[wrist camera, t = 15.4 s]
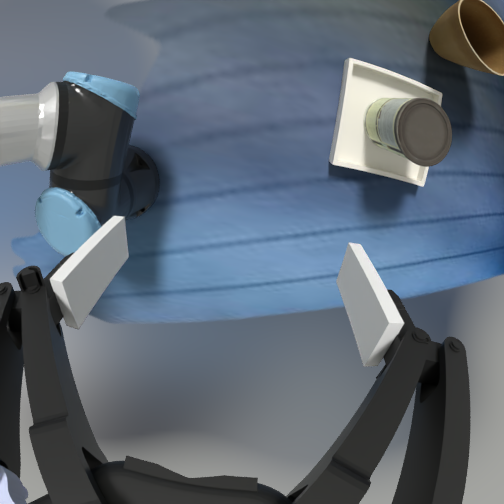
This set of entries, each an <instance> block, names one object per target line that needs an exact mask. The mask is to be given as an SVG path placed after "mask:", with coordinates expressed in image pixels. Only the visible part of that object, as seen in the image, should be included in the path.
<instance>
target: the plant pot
mask: <svg viewBox="0 0 504 504" xmlns="http://www.w3.org/2000/svg"><path fill="white" fill-rule="evenodd" d="M429 40H430V43H431V46H432V48H433V49H434V51H435V52H436V53H437V54H438V55H439V56H441V57H442V58H444V59H446V60H449V61H451V62H454V63H456V64H459V65H462V66H465V67H468V68H472V69H475V70H479V71H483V72H487V73H491V74H496V75H500V76H504V23H503V21H502V20H501V18H500V17H499V16H498V15H497V13H496V12H495V11H494V10H493V9H492V8H491V7H490V6H489V5H487V4H486V3H485V2H483V1H482V0H459V1H458V2H457V3H455V4H454V5H452V6H451V7H450V8H449V9H447V10H446V11H445V12H444V13H443V14H442V15H441V17H440V18H439V19H438V20H437V22H436V23H435V25H434V26H433V28H432V29H431V31H430V34H429Z"/></svg>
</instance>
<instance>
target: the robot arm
mask: <svg viewBox="0 0 504 504" xmlns="http://www.w3.org/2000/svg"><path fill="white" fill-rule="evenodd" d="M139 98H140V95H139V91H138V90H137V88H136V87H134V86H133V85H130V84H127V83H124V82H120V81H117V80H113V79H109V78H105V77H100V76H95V75H89V74H85V73H79V72H68V73H67V74H66V75H65V77H64V78H63V82H51V83H49V84H48V85H47V86H46V87H45V88H44V89H43V90H42V91H41V92H39V93H38V94H29V95H17V96H6V97H0V166H5V165H10V164H16V163H21V162H27V161H32V162H33V163H35V165H36V166H38V167H39V168H40V169H41V170H42V171H46V170H50V186H49V188H48V189H46V190H44V191H43V192H42V194H41V196H40V197H39V198H38V200H37V202H36V207H35V217H36V222H37V225H38V227H39V230H40V232H41V234H42V236H43V237H44V239H45V240H46V241H47V242H48V244H49V245H50V246H51V247H52V248H53V249H54V250H56V251H57V252H58V253H60V254H62V255H64V256H66V257H64V258H63V259H62V260H61V261H60V263H59V264H58V265H57V266H56V267H55V268H54V269H53V270H52V271H51V272H50V273H49V274H48V275H47V276H46V277H45V278H44V279H43V277H42V274H41V271H40V268H39V267H37V266H29V267H26V268H24V269H22V270H21V271H20V272H19V273H18V274H17V277H16V278H17V281H18V283H19V286H20V288H21V291H14V290H13V287H12V285H11V283H9V282H4V283H1V284H0V504H27V503H26V501H25V499H26V498H27V497H28V492H27V489H26V488H25V487H24V486H23V485H22V482H21V481H20V466H21V464H20V463H21V462H20V434H19V433H20V428H19V427H20V424H19V423H20V398H21V385H22V375H23V367H24V368H25V376H26V384H27V391H28V397H29V403H30V408H31V413H32V417H33V423H34V425H33V426H31V427H30V428H29V434H30V439H31V443H32V447H33V450H34V454H35V457H36V460H37V463H38V466H39V469H40V472H41V475H42V478H43V481H44V483H45V485H46V488H47V491H48V494H47V495H45V496H43V497H41V498H39V499H37V500H35V501H33V502H31V503H28V504H359V502H360V501H361V499H362V498H363V497H364V495H365V494H366V492H367V490H368V489H369V487H370V484H371V482H370V480H369V479H370V477H371V475H372V473H373V471H374V470H375V468H376V467H377V465H378V463H379V462H380V460H381V458H382V456H383V455H384V453H385V451H386V449H387V447H388V446H389V444H390V442H391V440H392V438H393V436H394V434H395V432H396V430H397V428H398V426H399V424H400V422H401V420H402V418H403V416H404V414H405V411H406V409H407V407H408V405H409V403H410V400H411V398H412V395H413V393H414V391H415V388H416V396H415V404H414V411H413V418H412V425H411V430H410V436H409V440H408V446H407V450H406V455H405V459H404V463H403V467H402V471H401V475H400V478H399V482H398V485H397V489H396V492H395V495H394V498H393V502H392V504H462V500H463V495H464V489H465V483H466V476H467V468H468V459H469V458H468V457H469V444H470V390H469V377H468V367H467V357H466V350H465V347H464V345H463V344H462V342H461V341H459V340H458V339H456V338H454V337H447V338H446V339H445V340H444V342H443V343H442V344H440V343H437V342H433V341H431V339H430V337H429V335H428V334H427V333H426V332H425V331H423V330H422V329H419V328H416V327H415V326H414V324H413V322H412V320H411V318H410V317H409V315H408V313H407V311H406V310H405V307H404V305H402V302H401V300H400V298H399V296H398V295H396V294H395V293H394V292H393V291H392V290H387V289H386V287H385V286H384V284H383V282H382V280H381V278H380V277H379V275H378V273H377V271H376V270H375V268H374V266H373V265H372V263H371V261H370V259H369V258H368V256H367V254H366V253H365V251H364V249H363V248H362V246H361V245H360V244H355V243H348V246H347V250H346V253H345V256H344V259H343V263H342V266H341V269H340V272H339V275H338V278H337V281H336V282H337V285H338V288H339V291H340V293H341V296H342V299H343V302H344V305H345V308H346V311H347V314H348V317H349V320H350V323H351V326H352V329H353V333H354V336H355V339H356V342H357V345H358V349H359V352H360V356H361V359H362V362H363V365H364V366H378V365H379V363H380V362H381V360H382V359H383V357H384V360H385V363H386V365H385V366H384V368H383V369H382V370H381V372H380V373H379V375H378V376H377V377H376V379H377V380H376V381H375V383H374V385H373V386H372V388H371V389H370V391H369V393H368V394H367V396H366V398H365V399H364V401H363V402H362V404H361V405H360V407H359V408H358V410H357V412H356V413H355V415H354V416H353V417H352V419H351V420H350V422H349V423H348V425H347V426H346V427H345V429H344V430H343V432H342V433H341V434H340V436H339V437H338V438H337V440H336V441H335V442H334V444H333V445H332V446H331V447H330V449H329V450H328V451H327V453H326V454H325V455H324V456H323V458H322V459H321V460H320V461H319V462H318V464H317V465H316V466H315V467H314V468H313V469H312V471H311V472H310V473H309V474H308V475H307V476H306V477H305V478H304V479H303V480H302V481H301V482H300V483H299V484H298V485H297V486H296V487H295V488H294V489H293V490H292V491H291V492H290V493H289V494H288V495H287V496H284V495H283V494H282V493H280V492H279V491H277V490H275V489H273V488H271V487H268V486H266V485H263V484H259V483H257V479H258V478H250V477H234V476H225V475H224V476H214V477H202V478H187V477H184V476H182V475H180V474H177V473H175V472H173V471H171V470H169V469H166V468H164V467H162V466H160V465H158V464H155V463H151V462H147V461H144V460H140V459H136V458H133V457H130V456H126V459H125V461H113V462H108V460H107V459H106V457H105V455H104V454H103V452H102V451H101V449H100V448H99V446H98V444H97V442H96V440H95V437H94V435H93V433H92V430H91V428H90V425H89V423H88V420H87V417H86V415H85V412H84V409H83V406H82V404H81V400H80V397H79V394H78V391H77V388H76V384H75V381H74V378H73V374H72V370H71V367H70V363H69V359H68V355H67V351H66V346H65V342H64V337H63V332H62V327H61V325H60V320H61V319H62V318H64V320H65V323H66V325H67V326H69V327H73V328H75V329H79V328H80V327H81V325H82V324H83V322H84V320H85V319H86V317H87V316H88V314H89V313H90V311H91V310H92V308H93V307H94V305H95V304H96V302H97V301H98V299H99V298H100V296H101V295H102V293H103V292H104V291H105V289H106V288H107V286H108V285H109V283H110V282H111V281H112V279H113V278H114V276H115V275H116V274H117V272H118V271H119V269H120V268H121V267H122V265H123V264H124V263H125V261H126V260H127V259H128V257H129V254H128V245H127V236H126V226H125V220H128V219H133V218H136V217H138V216H140V215H142V214H143V213H145V212H146V211H147V210H148V209H149V208H150V207H151V206H152V204H153V203H154V201H155V200H156V198H157V195H158V192H159V174H158V171H157V168H156V166H155V164H154V162H153V160H152V159H151V158H150V157H149V155H148V154H146V153H145V152H144V151H143V150H141V149H139V148H137V147H134V146H130V145H129V141H130V137H131V132H132V128H133V124H134V120H136V118H137V116H136V111H137V107H138V102H139Z"/></svg>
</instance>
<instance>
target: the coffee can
mask: <svg viewBox="0 0 504 504" xmlns="http://www.w3.org/2000/svg"><path fill="white" fill-rule="evenodd" d="M364 128H365V131H366V134H367V136H368V137H369V139H370V140H371V141H372V142H373V143H374V144H375V145H376V146H378V147H380V148H382V149H386V150H388V151H390V152H393V153H395V154H397V155H399V156H402V157H404V158H406V159H408V160H410V161H411V162H413V163H415V164H417V165H419V166H424V167H429V166H433V165H436V164H438V163H439V162H441V161H442V160H443V159H444V158H445V156H446V155H447V153H448V151H449V149H450V146H451V142H452V129H451V124H450V121H449V118H448V116H447V114H446V113H445V111H444V110H443V108H442V107H441V106H440V105H439V104H437V103H436V102H434V101H432V100H430V99H427V98H379V99H377V100H375V101H373V102H372V103H371V104H370V105H369V106H368V107H367V109H366V112H365V115H364Z"/></svg>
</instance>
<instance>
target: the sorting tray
mask: <svg viewBox="0 0 504 504" xmlns="http://www.w3.org/2000/svg"><path fill="white" fill-rule="evenodd" d="M379 98H427V99H430V100H432V101H434V102H436V103H437V104H439V105H440V106H441V101H442V93H441V92H439V91H436V90H434V89H432V88H430V87H428V86H426V85H424V84H421V83H419V82H417V81H414V80H412V79H410V78H407V77H405V76H402V75H400V74H397V73H394V72H392V71H389V70H386V69H383V68H381V67H378V66H375V65H372V64H369V63H365V62H362V61H359V60H355V59H352V58H348V59H346V60H345V62H344V70H343V78H342V85H341V92H340V98H339V105H338V111H337V118H336V124H335V129H334V135H333V141H332V146H331V152H330V157H329V162H330V163H331V164H333V165H338V166H343V167H347V168H352V169H357V170H361V171H366V172H370V173H374V174H378V175H382V176H386V177H390V178H394V179H398V180H402V181H405V182H409V183H412V184H416V185H419V186H423V187H424V183H425V180H426V176H427V172H428V168H429V167H424V166H419V165H417V164H415V163H413V162H411V161H410V160H408V159H406V158H404V157H402V156H399V155H397V154H395V153H393V152H390V151H388V150H386V149H382V148H380V147H378V146H376V145H375V144H374V143H373V142H372V141H371V140H370V139H369V137H368V136H367V134H366V131H365V128H364V115H365V112H366V109H367V107H368V106H369V105H370V104H371V103H372V102H373V101H375V100H377V99H379Z"/></svg>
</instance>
